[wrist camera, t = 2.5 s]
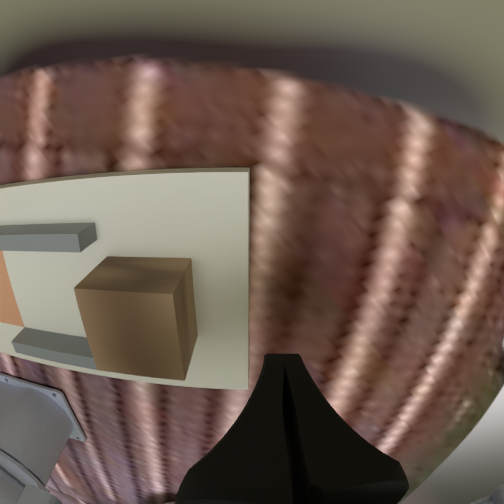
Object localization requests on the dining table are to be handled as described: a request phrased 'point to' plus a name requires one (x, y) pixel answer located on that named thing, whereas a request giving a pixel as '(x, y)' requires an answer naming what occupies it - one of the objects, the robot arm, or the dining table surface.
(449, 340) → the dining table surface
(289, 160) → the dining table surface
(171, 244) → the board
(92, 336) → the walnut block
